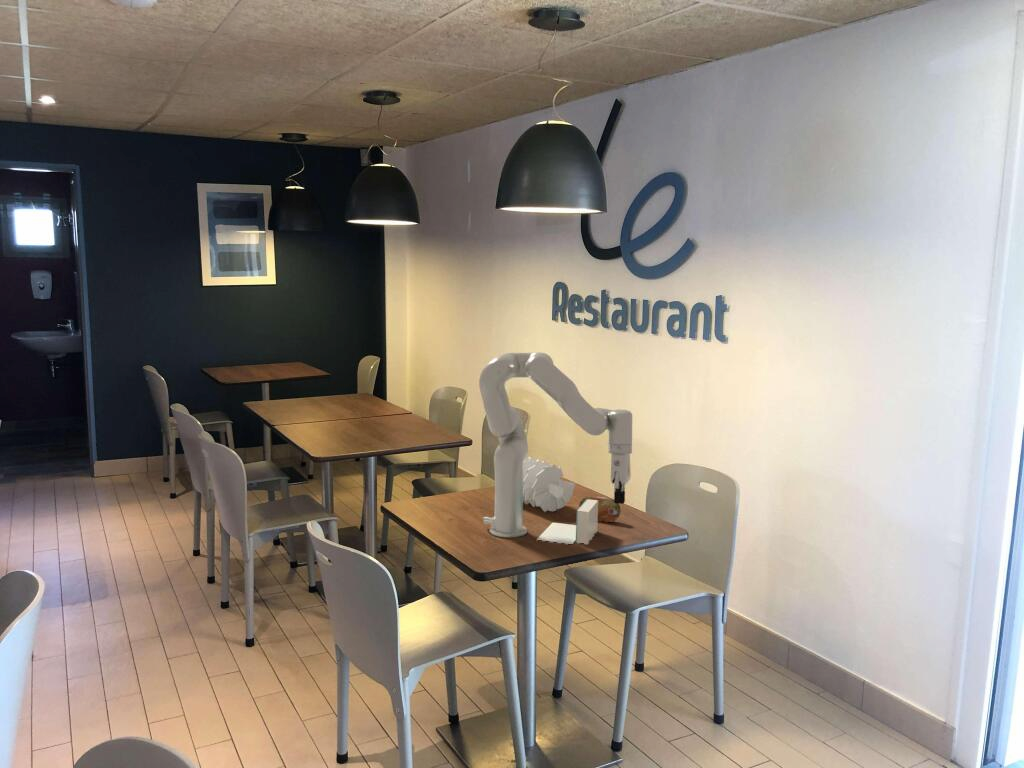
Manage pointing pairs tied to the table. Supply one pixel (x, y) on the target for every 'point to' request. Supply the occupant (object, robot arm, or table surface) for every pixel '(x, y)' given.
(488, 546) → the table surface
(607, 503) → the tin
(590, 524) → the tile
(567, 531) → the mat
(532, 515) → the table surface
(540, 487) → the spiral staircase
